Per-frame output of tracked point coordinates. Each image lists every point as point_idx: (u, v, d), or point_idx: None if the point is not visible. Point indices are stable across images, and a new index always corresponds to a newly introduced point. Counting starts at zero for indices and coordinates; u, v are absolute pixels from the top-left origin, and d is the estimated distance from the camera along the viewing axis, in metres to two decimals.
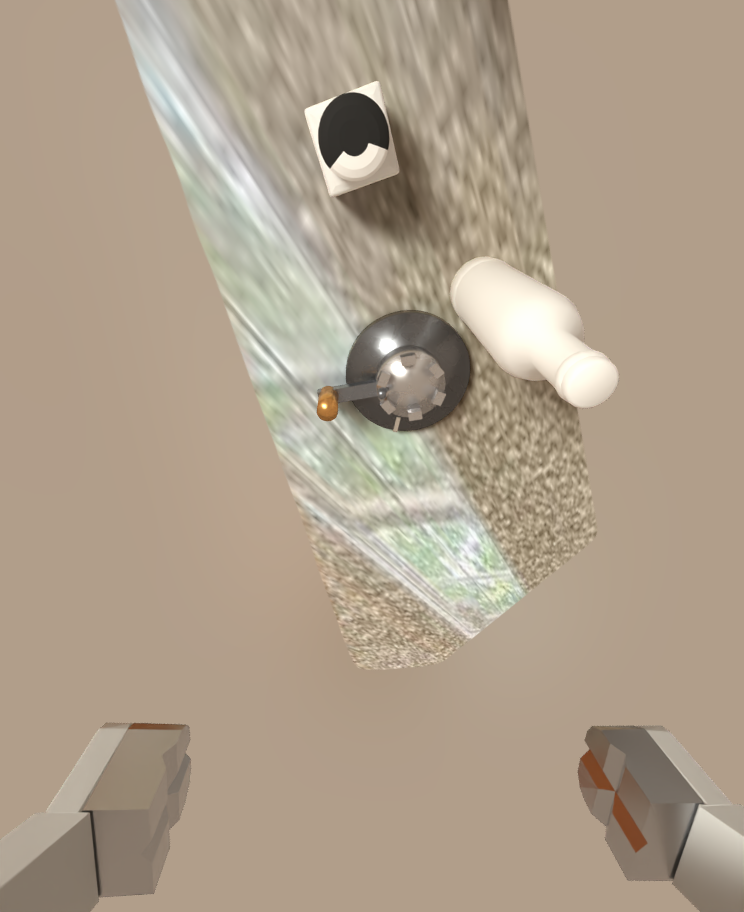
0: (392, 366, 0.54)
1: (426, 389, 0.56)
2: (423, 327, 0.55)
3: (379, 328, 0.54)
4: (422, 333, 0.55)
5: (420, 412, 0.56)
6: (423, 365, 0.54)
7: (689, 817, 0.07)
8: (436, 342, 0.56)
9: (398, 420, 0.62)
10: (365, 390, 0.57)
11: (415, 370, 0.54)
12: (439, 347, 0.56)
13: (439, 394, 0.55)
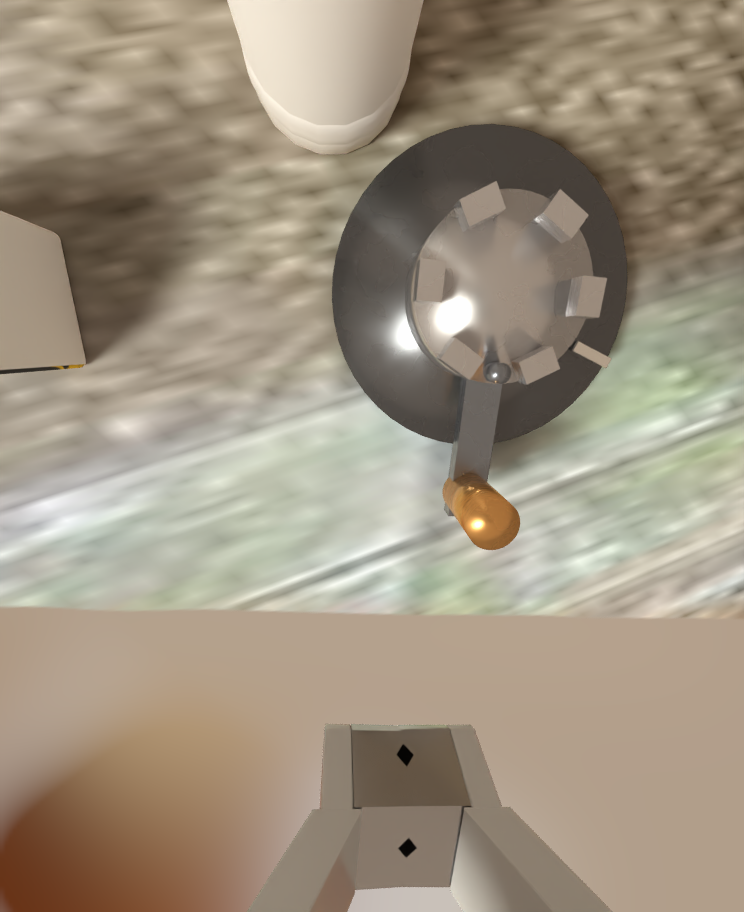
0: (437, 328, 0.21)
1: (525, 250, 0.21)
2: (377, 233, 0.23)
3: (352, 339, 0.24)
4: (389, 239, 0.23)
5: (586, 279, 0.20)
6: (458, 244, 0.20)
7: (456, 821, 0.07)
8: (420, 207, 0.23)
9: (583, 348, 0.25)
10: (478, 409, 0.23)
11: (465, 269, 0.21)
12: (435, 202, 0.23)
13: (553, 210, 0.19)
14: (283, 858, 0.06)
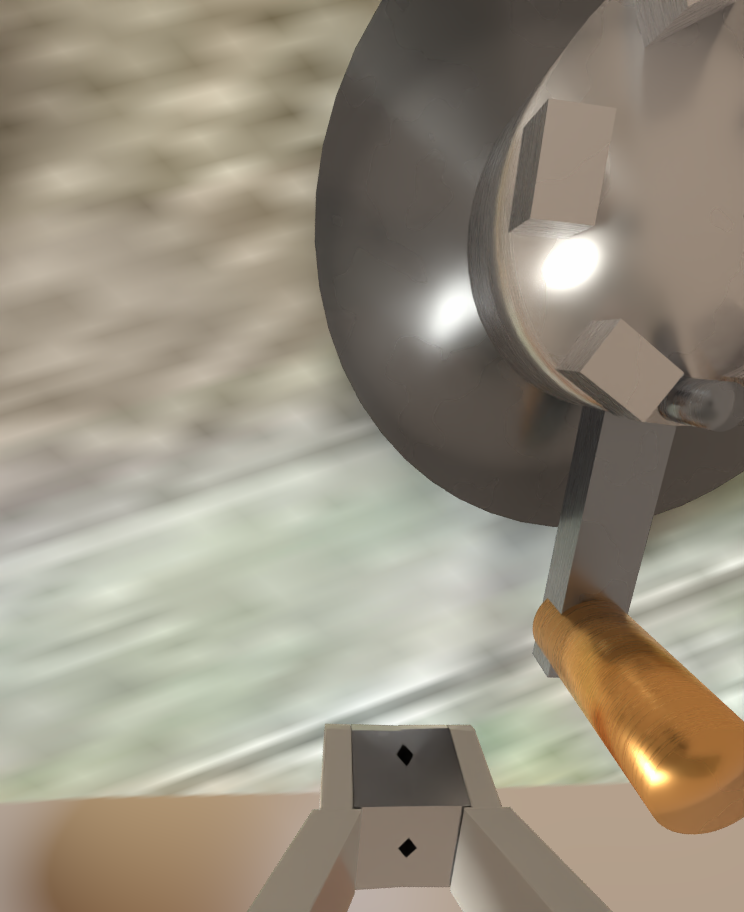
0: (561, 297, 0.09)
1: None
2: (411, 96, 0.11)
3: (357, 328, 0.12)
4: (437, 111, 0.11)
5: None
6: (631, 80, 0.08)
7: (457, 820, 0.07)
8: (506, 38, 0.10)
9: None
10: (624, 474, 0.11)
11: (641, 149, 0.08)
12: (537, 27, 0.10)
13: None
14: (283, 858, 0.06)
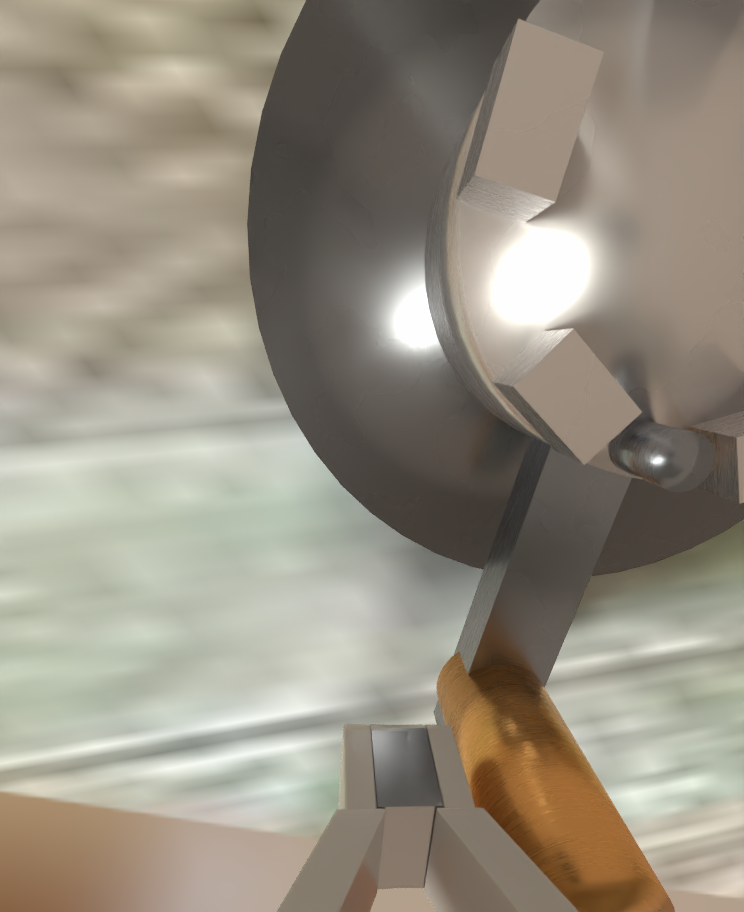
0: (511, 295, 0.07)
1: None
2: (396, 23, 0.09)
3: (284, 284, 0.10)
4: (424, 50, 0.09)
5: None
6: (633, 37, 0.06)
7: (429, 821, 0.07)
8: None
9: None
10: (563, 524, 0.09)
11: (633, 128, 0.07)
12: None
13: None
14: (310, 857, 0.06)
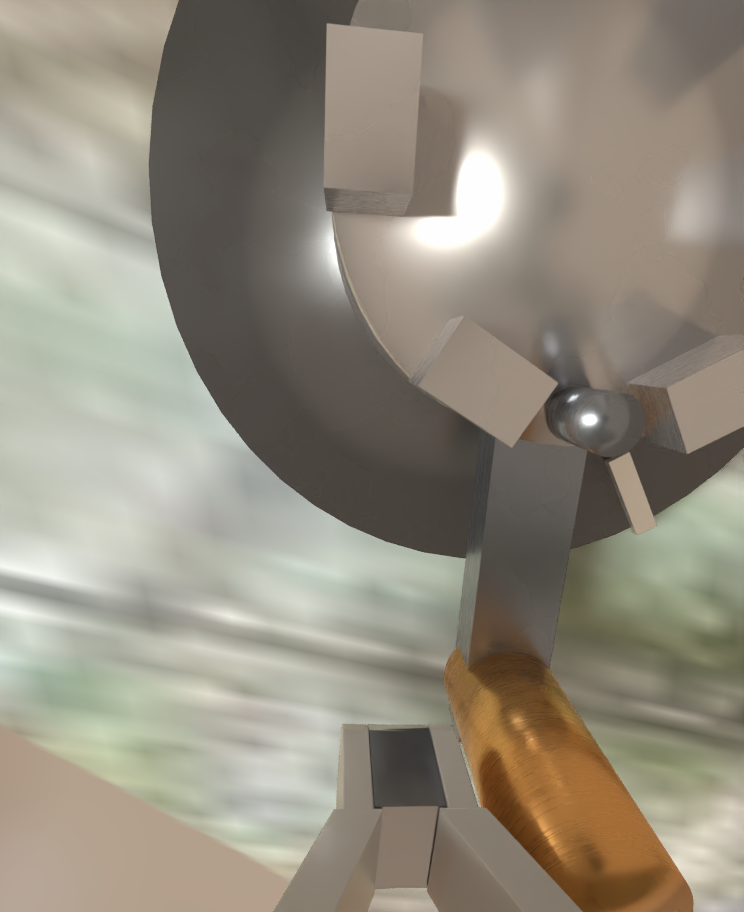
0: (407, 291, 0.07)
1: (684, 26, 0.06)
2: None
3: (198, 75, 0.09)
4: None
5: None
6: (466, 5, 0.06)
7: (432, 821, 0.07)
8: None
9: (628, 471, 0.11)
10: (528, 503, 0.09)
11: (490, 96, 0.06)
12: None
13: None
14: (307, 857, 0.06)
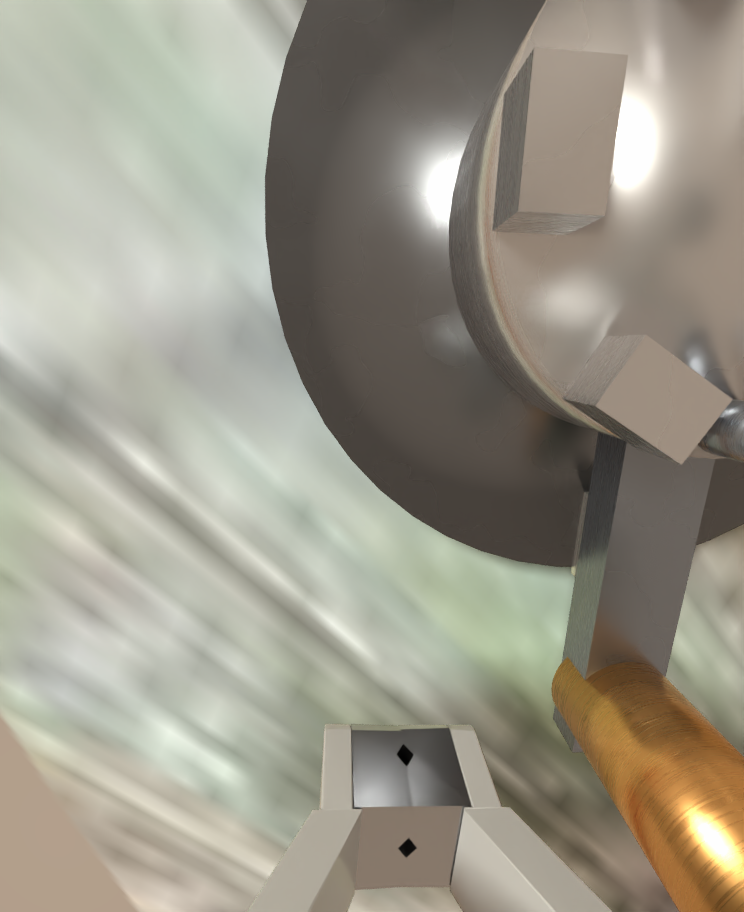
0: (566, 309, 0.07)
1: None
2: None
3: None
4: None
5: None
6: (643, 22, 0.06)
7: (457, 821, 0.07)
8: None
9: None
10: (654, 514, 0.09)
11: (661, 112, 0.06)
12: None
13: None
14: (283, 858, 0.06)
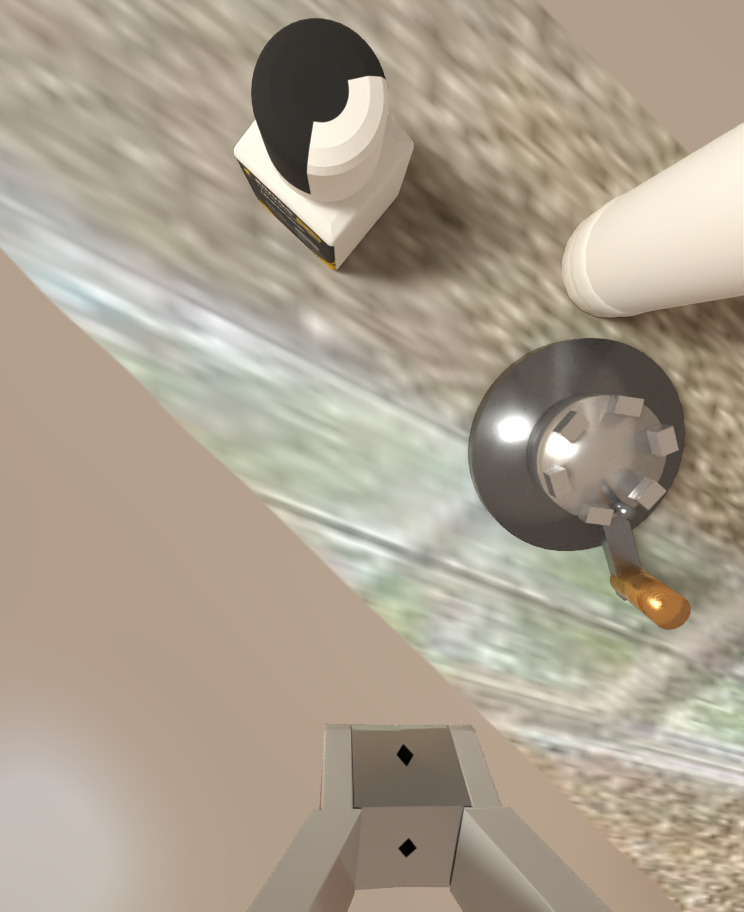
0: (571, 500, 0.31)
1: (608, 430, 0.30)
2: (562, 365, 0.32)
3: (497, 405, 0.32)
4: (565, 374, 0.32)
5: (659, 434, 0.29)
6: (564, 448, 0.30)
7: (456, 820, 0.07)
8: (594, 374, 0.32)
9: None
10: (615, 527, 0.32)
11: (574, 460, 0.30)
12: (603, 378, 0.32)
13: (620, 408, 0.28)
14: (283, 858, 0.06)
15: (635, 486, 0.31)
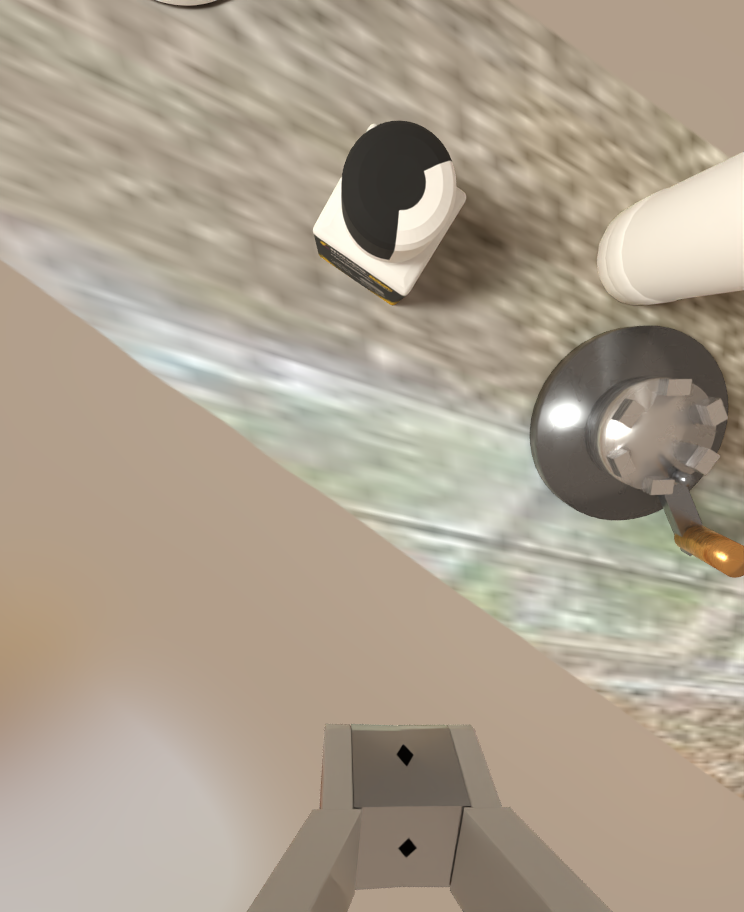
0: (634, 477, 0.34)
1: (661, 410, 0.33)
2: (609, 355, 0.35)
3: (553, 401, 0.36)
4: (612, 363, 0.35)
5: (709, 407, 0.32)
6: (623, 432, 0.33)
7: (456, 821, 0.07)
8: (639, 358, 0.35)
9: None
10: (675, 493, 0.36)
11: (633, 441, 0.33)
12: (648, 361, 0.35)
13: (671, 390, 0.32)
14: (283, 858, 0.06)
15: (690, 455, 0.34)
